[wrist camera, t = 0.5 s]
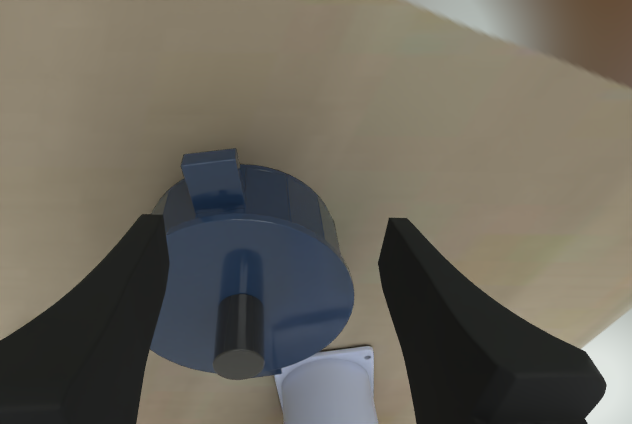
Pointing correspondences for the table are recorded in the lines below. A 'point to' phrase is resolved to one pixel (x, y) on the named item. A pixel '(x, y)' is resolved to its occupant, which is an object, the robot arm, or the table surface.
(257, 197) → the pot
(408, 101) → the table surface
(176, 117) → the table surface
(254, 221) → the pot lid
